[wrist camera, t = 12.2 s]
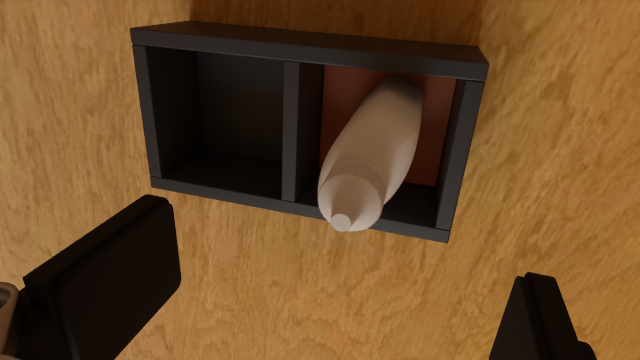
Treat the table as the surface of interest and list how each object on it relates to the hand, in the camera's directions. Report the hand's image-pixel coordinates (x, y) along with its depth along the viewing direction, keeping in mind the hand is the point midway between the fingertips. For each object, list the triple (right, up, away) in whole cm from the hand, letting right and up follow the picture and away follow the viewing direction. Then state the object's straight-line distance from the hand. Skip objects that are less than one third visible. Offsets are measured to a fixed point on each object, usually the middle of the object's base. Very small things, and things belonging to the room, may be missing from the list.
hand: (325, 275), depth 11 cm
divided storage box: (0, +7, +15) cm, 16 cm away
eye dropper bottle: (+4, +6, +13) cm, 15 cm away
